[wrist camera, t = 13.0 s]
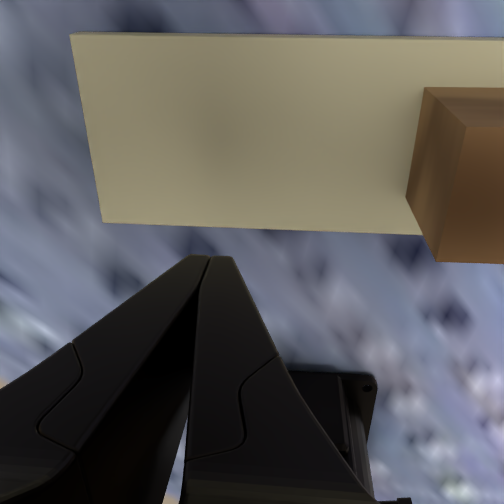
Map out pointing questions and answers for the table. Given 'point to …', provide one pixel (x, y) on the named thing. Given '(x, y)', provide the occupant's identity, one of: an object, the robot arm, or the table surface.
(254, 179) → the board
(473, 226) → the slat
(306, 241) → the table surface
